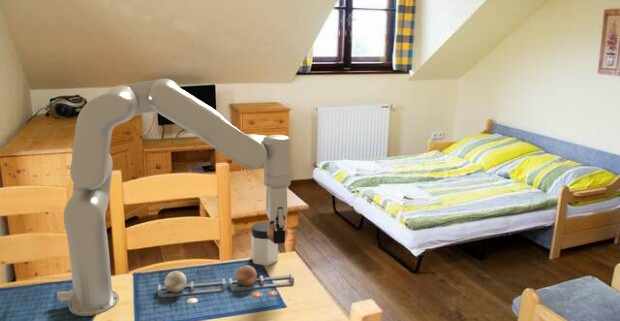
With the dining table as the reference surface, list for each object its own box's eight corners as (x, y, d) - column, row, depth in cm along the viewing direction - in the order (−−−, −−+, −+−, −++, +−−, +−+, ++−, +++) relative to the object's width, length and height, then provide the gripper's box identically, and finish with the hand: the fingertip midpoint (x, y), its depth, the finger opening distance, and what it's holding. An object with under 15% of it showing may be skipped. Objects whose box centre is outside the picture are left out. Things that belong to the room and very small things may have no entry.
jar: (249, 256, 169) (249, 222, 166) (273, 253, 171) (273, 220, 168) (254, 268, 161) (254, 233, 158) (279, 265, 163) (280, 230, 160)
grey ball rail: (157, 299, 141) (157, 291, 141) (158, 290, 146) (158, 282, 146) (294, 286, 150) (294, 279, 149) (291, 278, 155) (291, 271, 154)
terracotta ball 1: (237, 290, 146) (236, 271, 144) (235, 280, 151) (235, 262, 150) (258, 288, 147) (257, 269, 146) (255, 279, 153) (255, 260, 151)
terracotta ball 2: (268, 247, 145) (268, 227, 143) (265, 238, 150) (265, 219, 149) (289, 245, 146) (289, 226, 144) (285, 237, 151) (285, 218, 150)
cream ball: (164, 297, 141) (163, 277, 140) (165, 287, 147) (164, 268, 146) (186, 295, 143) (185, 276, 141) (187, 285, 148) (186, 266, 147)
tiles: (175, 308, 137) (175, 306, 137) (175, 300, 141) (175, 298, 141) (281, 297, 144) (281, 295, 143) (279, 290, 147) (279, 289, 147)
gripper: (260, 171, 150) (260, 228, 155) (268, 189, 134) (268, 252, 139) (285, 170, 152) (284, 226, 157) (296, 187, 136) (295, 249, 140)
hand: (277, 237), depth 148 cm, fingers closed on terracotta ball 2, 5 cm apart
